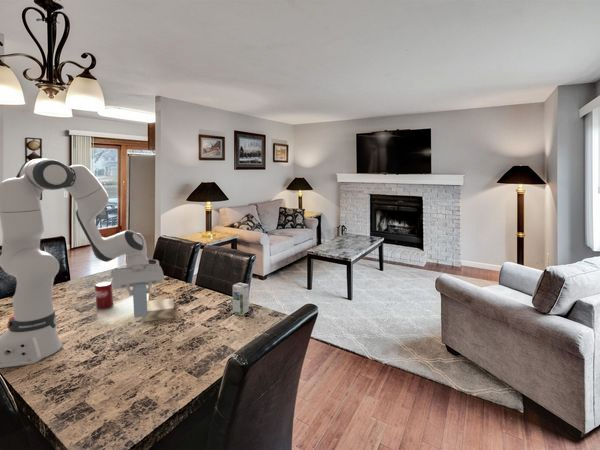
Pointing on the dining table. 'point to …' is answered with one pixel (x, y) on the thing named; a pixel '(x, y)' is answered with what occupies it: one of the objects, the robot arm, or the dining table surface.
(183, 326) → the dining table surface
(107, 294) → the soda can
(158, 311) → the birch block
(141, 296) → the slate block
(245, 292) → the syrup box
